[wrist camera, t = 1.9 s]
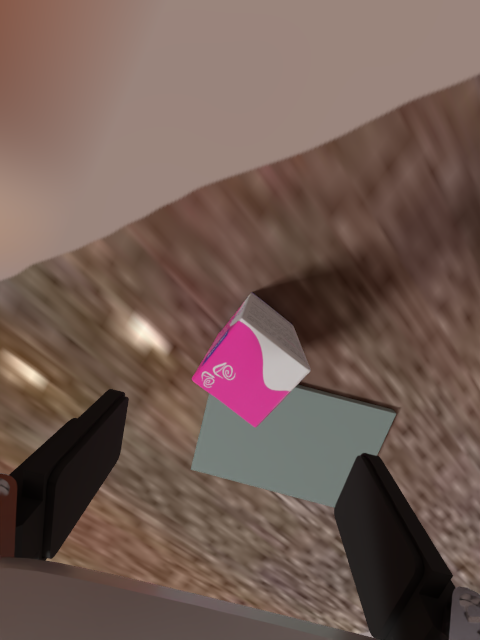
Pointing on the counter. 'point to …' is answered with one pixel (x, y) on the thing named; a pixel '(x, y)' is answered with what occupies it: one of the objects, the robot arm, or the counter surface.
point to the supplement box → (253, 361)
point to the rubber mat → (292, 443)
